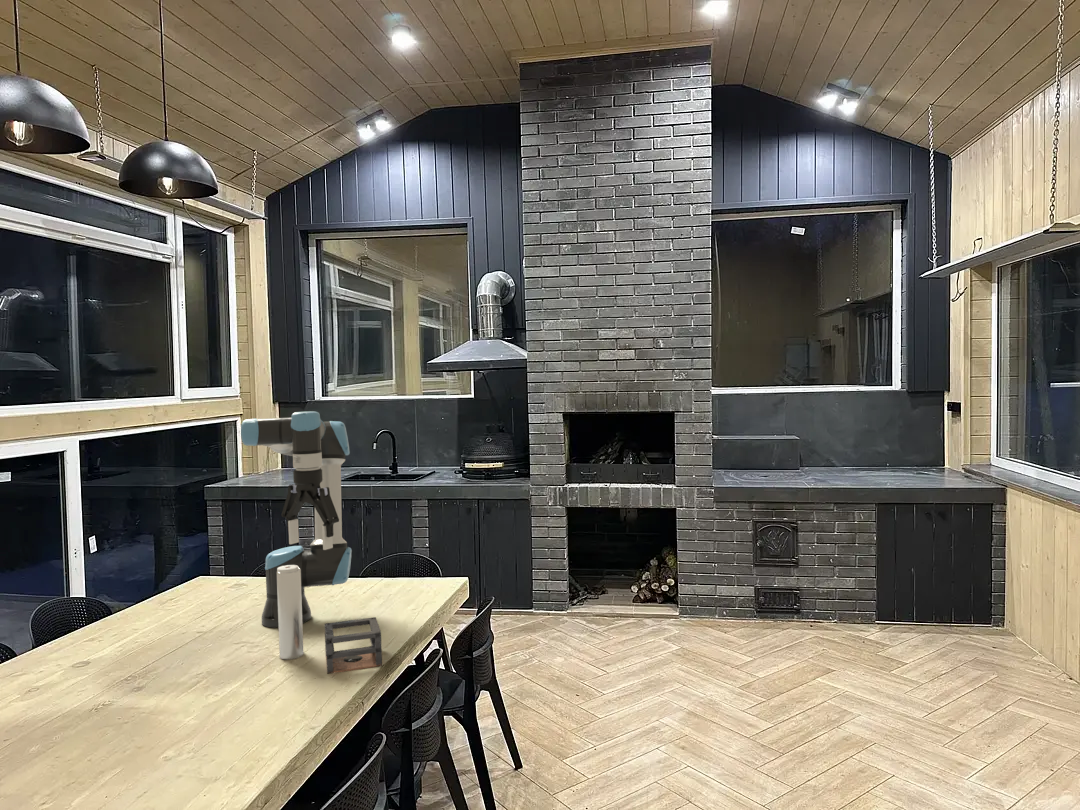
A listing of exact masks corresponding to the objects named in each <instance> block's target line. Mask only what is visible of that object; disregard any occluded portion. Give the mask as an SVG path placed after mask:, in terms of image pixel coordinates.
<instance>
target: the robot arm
mask: <svg viewBox="0 0 1080 810" xmlns="http://www.w3.org/2000/svg"><path fill="white" fill-rule="evenodd" d="M240 437H241V442H242V444H243V445H244V446H253V447H257V446H264V447H267V448H270V450H272V452H274V453H277V454H281V455H284V456H289V457H292V467H293V469H294V470H293V472H292V473H293V474H292V476H293V478H292V479H293V483H294V484H289V485H288V486H287V495H286V498H285V501H284V505H283V508H282V512H281V514H280V515H281V517H282V518H285V519H286V521H287V523H286V524H287V531H288V544H289V545H292V546H287V547H286V546H285V547H282V548H279V549H276V550H273V551H271V552H270V553H268V554H267V555H266V557H265V567H264V570H265V587H266V600H265V604H264V607H263V611H262V614H261V625H263V626H264V627H267V628H274V629H275V628H279V623H278V595H277V568H278V567H281V566H286V565H297V566H299V568H300V569H301V595H302V624H304V623H306V622H308V621H310V620H311V618H312V611H311V607H310V605H309V603H308V602H309V601H308V600H307V599H308V598H307V597H306V594H305V588H310V587H323V586H336V585H343V584H345V583H347V581H348V579H349V576H350V571H351V562H352V552H353V550H352V548H351V547H349V546H348V542H347V541H346V540H345V539H344V538H343V527H342V526H343V520H342V518H343V517H342V516H343V515H342V470H341V469H342V468H341V467H342V465H343V463H345V462H346V456H349V455H350V453H351V451H350V444H349V437H348V433H347V427H346V424H345V423H344V422H343V421H336V420H334V421H333V420H327V421H325V420H322V419H321V415H320V412H318V411H313V410H312V411H310V410H309V411H295V412H293V413H292V414H291V417H277V418H275V417H274V418H273V417H272V418H268V417H267V418H255V417H253V418H250V419H249V418H248V419H244V420H243V421H241V426H240ZM305 503H306V504H310V505H311V506H312V507H314V540H312V542H311V543H310V544H309V547H310V548H309V549H308V550H305V548H304V547H303V546H302V545H294V544H297V543H300V537H299V536H300V533H299V532H300V531H299V519H298V515H299V513H300V512H301V509H302V507H303V506H304V504H305Z"/></svg>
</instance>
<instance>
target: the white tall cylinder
mask: <svg viewBox="0 0 1080 810" xmlns="http://www.w3.org/2000/svg"><path fill="white" fill-rule="evenodd" d="M277 595H278V623H279V627H278V640H279V641H278V645H279V650H278V651H279V655H278V656H279V658H280V659H281V660H286V661H287V660H294V659H295V660H296V659H298V658H301V657H303V656H304V654H305V651H304V632H303V631H304V629H303V624H304V623H302V595H301V569H300V568H299V566H297V565H286V566H281V567H278V568H277Z"/></svg>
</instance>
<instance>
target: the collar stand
mask: <svg viewBox="0 0 1080 810" xmlns="http://www.w3.org/2000/svg"><path fill="white" fill-rule="evenodd" d="M368 625H369V627H370V630H369V631H364V632H358V633H357V632H356V633H349V634H341V635H340V634H339V635H334V630H337V629H343V628H352V627H358V626H368ZM362 640H369V641H370V645H371V646H370V645H369V646H365V647H356V648H348V649H342V650H340V649H339V650H335V648H334V647H335V645H334V644H339V643H347V642H354V641H362ZM324 644H325V645H324V646H325V648H324V649H325V661H326V662H325V663H326V673H327V675H329V674H330V675H331V674H337V673H344V672H352V671H357V670H363V669H364V670H365V669H371V668H377V667H379V668H380V667H383V656H382V655H383V653H382V631H381V628H380V626H379V622H378V620H377V617H376V616H374V617H368V618H365V617H364V618H358V619H350V620H343V621H342V620H340V621H336V622H335V621H334V622H327V623H326V622H325V623H324Z"/></svg>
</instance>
